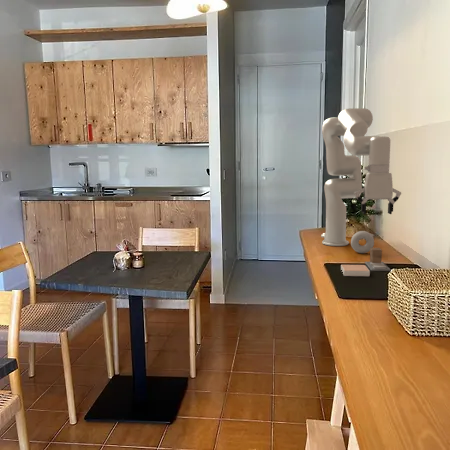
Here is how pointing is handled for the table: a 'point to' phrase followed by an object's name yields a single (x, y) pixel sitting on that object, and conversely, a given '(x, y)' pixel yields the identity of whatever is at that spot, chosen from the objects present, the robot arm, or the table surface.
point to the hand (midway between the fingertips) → (376, 213)
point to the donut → (362, 235)
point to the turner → (376, 258)
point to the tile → (355, 270)
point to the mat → (377, 269)
